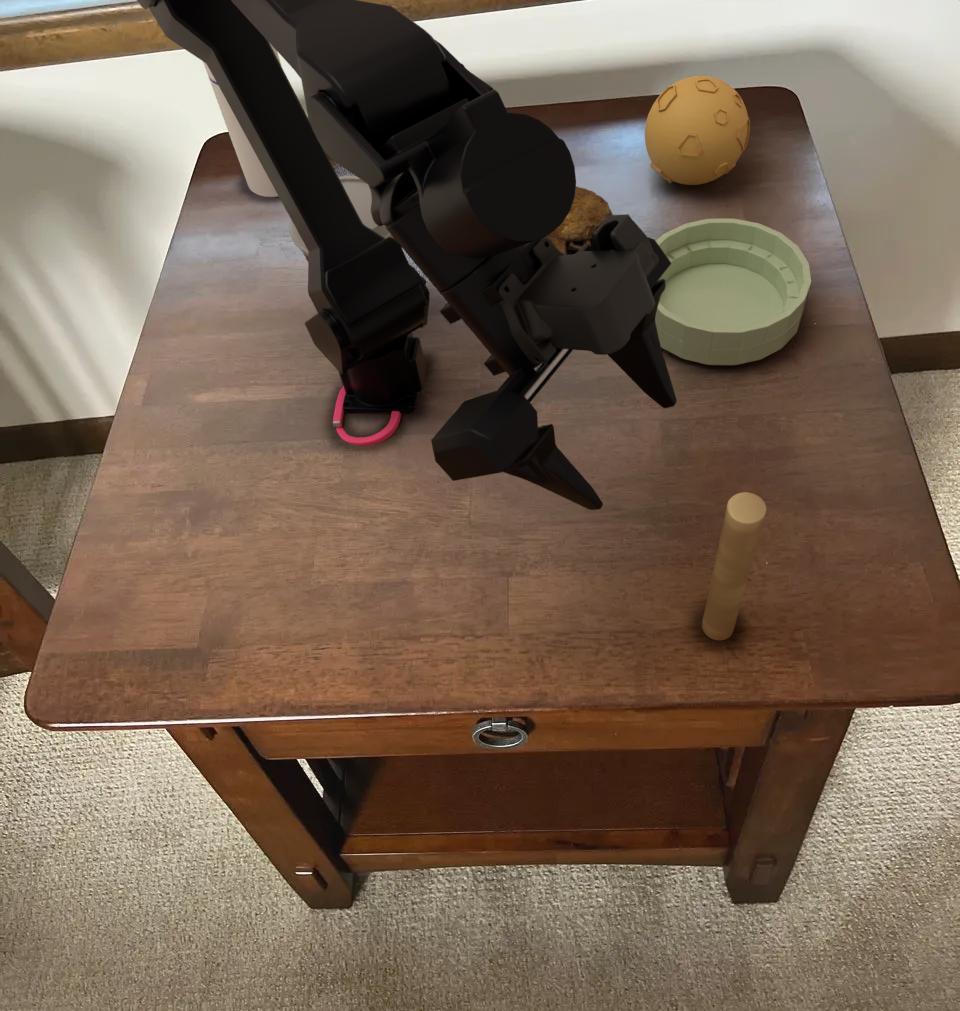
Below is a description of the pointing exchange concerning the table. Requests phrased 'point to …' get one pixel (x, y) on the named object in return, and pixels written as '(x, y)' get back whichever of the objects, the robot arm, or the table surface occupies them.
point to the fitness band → (363, 440)
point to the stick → (733, 563)
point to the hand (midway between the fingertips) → (635, 455)
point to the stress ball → (696, 130)
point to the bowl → (730, 291)
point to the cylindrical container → (243, 144)
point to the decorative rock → (580, 221)
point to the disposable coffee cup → (361, 203)
